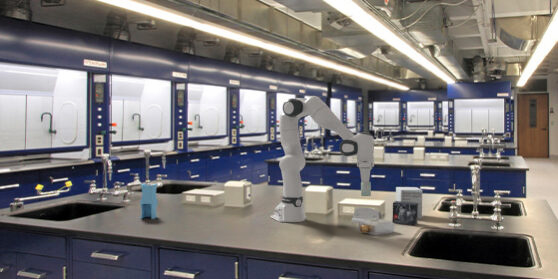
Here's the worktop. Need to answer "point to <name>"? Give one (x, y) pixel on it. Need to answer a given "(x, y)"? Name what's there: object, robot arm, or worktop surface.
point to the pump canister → (366, 192)
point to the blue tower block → (148, 201)
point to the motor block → (376, 226)
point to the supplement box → (410, 197)
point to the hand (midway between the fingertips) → (365, 189)
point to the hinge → (365, 214)
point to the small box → (405, 213)
